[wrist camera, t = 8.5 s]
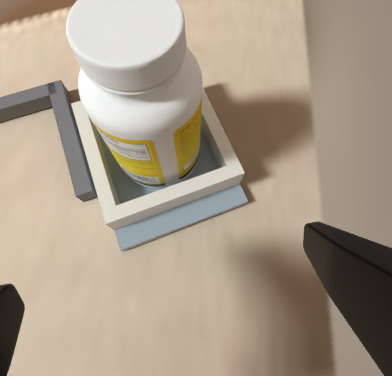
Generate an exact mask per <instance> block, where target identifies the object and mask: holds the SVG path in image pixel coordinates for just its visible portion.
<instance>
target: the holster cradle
mask: <svg viewBox="0 0 392 376" xmlns="http://www.w3.org/2000/svg"><path fill="white" fill-rule="evenodd" d="M51 107H53V110H54V114H55V118H56V122H57V126H58V129H59V133H60V137H61V141H62V145H63V149H64V152H65V156H66V160H67V164H68V168H69V172H70V176H71V179H72V183H73V187H74V191H75V195H76V197H78V198H79V199H80V200H82V201H83V202H84V201H87V200H90V199H93V198H96V197H98V196H97V192H96V189H95V185H94V182H93V178H92V175H91V172H90V168H89V165H88V161H87V158H86V154H85V151H84V147H83V144H82V140H81V137H80V133H79V130H78V126H77V123H76V119H75V116H74V112H73V109H72V105H71V100H70V97H69V93H68V91H67V89H66V87H65V86H64V84H63V83H62V81H61V80H59V81H55V82H52V83H49V84H45V85H42V86H38V87H35V88H31V89H28V90H24V91H21V92H17V93H14V94H10V95H7V96H3V97H0V123H1V122H4V121H7V120H11V119H14V118H17V117H21V116H24V115H27V114H31V113H34V112H38V111H41V110H44V109H48V108H51Z"/></svg>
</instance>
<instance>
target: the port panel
mask: <svg viewBox="0 0 392 376" xmlns="http://www.w3.org/2000/svg"><path fill="white" fill-rule="evenodd" d="M202 88H203V86H202ZM71 105H72V109H73V112H74V116H75V119H76V123H77V126H78V130H79V133H80V137H81V140H82V144H83V147H84V151H85V154H86V158H87V161H88V165H89V168H90V172H91V175H92V178H93V182H94V185H95V189H96V192H97V196H98V199H99V203H100V206H101V210H102V213H103V217H104V220H105V224H106V225H108V226H109V227H111V228H112V229H114V230H115V234H116V237H117V240H118V244H119V247H120V250H121V251H125V250H128V249H131V248H133V247H136V246H138V245H141V244H144V243H146V242H149V241H151V240H154V239H157V238H159V237H162V236H164V235H167V234H170V233H172V232H175V231H177V230H180V229H183V228H185V227H188V226H190V225H193V224H196V223H198V222H201V221H203V220H206V219H209V218H211V217H214V216H216V215H219V214H222V213H224V212H227V211H229V210H232V209H235V208H237V207H240V206H242V205H245V204H247V202H248V200H247V198H246V196H245V194H244V192H243V189H242V187H241V185H240V182H241V180H242V178H243V176H244V174H245V172H244V170H243V168H242V166H241V164H240V162H239V160H238V158H237V156H236V154H235V152H234V150H233V148H232V146H231V144H230V141H229V139H228V137H227V135H226V133H225V131H224V129H223V127H222V125H221V123H220V121H219V119H218V117H217V115H216V113H215V111H214V109H213V107H212V105H211V103H210V101H209V98H208V96H207V94H206V92H205V90H204V88H203V89H202V109H201V131H200V153H199V159H198V162H197V164H196V167H195V168H194V170H193V171H192V173H191V174H190V175H189V176H188V177H187V178H186V179H184V180H183V181H182V182H180V183H178V184H175V185H172V186H169V187H166V188H148V187H145V186H142V185H140V184H138V183H136V182H134V181H133V180H132V179H130V178H129V177H128V176H127V175H126V173H125V172H124V171H123V169H122V168H121V166H120V165H119V163H118V162H117V160H116V159H115V157H114V155H113V154H112V152H111V151H110V149H109V148H108V146H107V144H106V143H105V141H104V139H103V138H102V136H101V135H100V133H99V132H98V130H97V128H96V127H95V125H94V124H93V122H92V121H91V119H90V117H89V116H88V114H87V112H86V110H85V108H84V106H83V104H82V101H78V102H74V103H71Z"/></svg>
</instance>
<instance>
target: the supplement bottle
mask: <svg viewBox="0 0 392 376" xmlns="http://www.w3.org/2000/svg"><path fill="white" fill-rule="evenodd" d="M66 34H67V38H68V41H69V43H70V45H71V47H72V49H73V51H74V54H75V56H76V58H77V60H78V62H79V64H80V66H81V69H80V73H79V78H78V90H79V95H80V99H81V101H82V104H83V106H84V108H85V110H86V112H87V114H88V116H89V117H90V119H91V121H92V122H93V124H94V125H95V127H96V128H97V130H98V132H99V133H100V135H101V136H102V138H103V139H104V141H105V143H106V144H107V146H108V148H109V149H110V151H111V152H112V154H113V155H114V157H115V159H116V160H117V162H118V163H119V165H120V166H121V168H122V169H123V171H124V172H125V173H126V175H127V176H128V177H129V178H130V179H132V180H133V181H134V182H136V183H138V184H140V185H142V186H145V187H148V188H166V187H169V186H172V185H175V184H178V183H180V182H182V181H183V180H184V179H186V178H187V177H188V176H189V175H190V174H191V173H192V171H193V170H194V168H195V167H196V164H197V162H198V159H199V153H200V131H201V109H202V89H203V88H202V75H201V70H200V67H199V64H198V62H197V60H196V58H195V57H194V55H193V54H192V52H191V51H190V50H189V48H188V47H187V46H186V36H185V20H184V15H183V11H182V9H181V7H180V5H179V3H178V2H177V0H78V1H77V2H76V3H75V4H74V5H73V7H72V8H71V10H70V12H69V15H68V17H67V22H66Z"/></svg>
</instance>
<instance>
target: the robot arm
mask: <svg viewBox="0 0 392 376" xmlns="http://www.w3.org/2000/svg"><path fill="white" fill-rule="evenodd" d="M303 247H304V251H305V253H306V255H307V257H308V258H309V260H310V262H311V264H312V266H313V268H314V269H315V271H316V273H317V275H318V277H319V279H320V280H321V282H322V284H323V286H324V288H325V289H326V291H327V293H328V294H329V296H330V297H331V299H332V301H333V302H334V303H335V305H336V306H337V308H338V309H339V311H340V312H341V314H342V315H343V316H344V318H345V319H346V321H347V322H348V324H349V325H350V327H351V328H352V330H353V331H354V332H355V334H356V335H357V337H358V338H359V340H360V341H361V342H362V344H363V345H364V347H365V348H366V350H367V351H368V353H369V354H370V356H371V357H372V359H373V360H374V361H375V363H376V364H377V366H378V367H379V369H380V370H381V372H382V373H383V374H384V376H392V248H389V247H387V246H384V245H381V244H378V243H376V242H373V241H370V240H368V239H365V238H362V237H359V236H357V235H354V234H351V233H348V232H345V231H343V230H340V229H337V228H335V227H332V226H329V225H326V224H324V223H321V222H312V223H307V224H306V225H305V226H304V239H303ZM24 310H25V307H24V303H23V301H22V299H21V297H20V295H19V294H18V292H17V290H16V288H15V287H14V285H12V284H4V285H0V376H7V373H8V370H9V367H10V364H11V361H12V357H13V354H14V350H15V346H16V342H17V338H18V334H19V330H20V326H21V323H22V319H23V315H24Z"/></svg>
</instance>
